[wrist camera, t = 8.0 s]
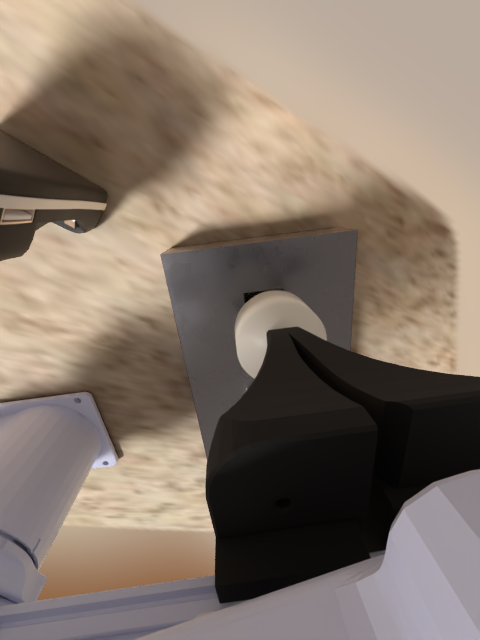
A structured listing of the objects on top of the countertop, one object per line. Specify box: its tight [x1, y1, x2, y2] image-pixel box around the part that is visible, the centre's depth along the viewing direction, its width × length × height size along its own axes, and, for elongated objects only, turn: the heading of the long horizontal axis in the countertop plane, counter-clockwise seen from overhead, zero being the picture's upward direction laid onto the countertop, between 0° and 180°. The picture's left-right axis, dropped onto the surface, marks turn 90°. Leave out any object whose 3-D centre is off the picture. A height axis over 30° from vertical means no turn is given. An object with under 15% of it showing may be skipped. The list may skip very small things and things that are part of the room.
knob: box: [235, 290, 327, 379], centre depth 14 cm, size 4×4×5 cm
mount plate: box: [160, 227, 357, 461], centre depth 20 cm, size 11×23×3 cm, turn 7°
